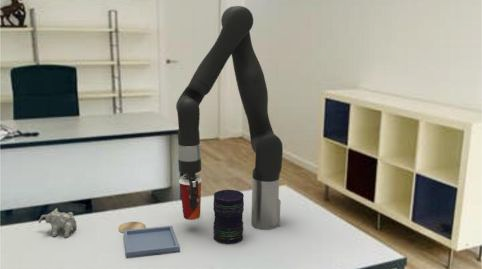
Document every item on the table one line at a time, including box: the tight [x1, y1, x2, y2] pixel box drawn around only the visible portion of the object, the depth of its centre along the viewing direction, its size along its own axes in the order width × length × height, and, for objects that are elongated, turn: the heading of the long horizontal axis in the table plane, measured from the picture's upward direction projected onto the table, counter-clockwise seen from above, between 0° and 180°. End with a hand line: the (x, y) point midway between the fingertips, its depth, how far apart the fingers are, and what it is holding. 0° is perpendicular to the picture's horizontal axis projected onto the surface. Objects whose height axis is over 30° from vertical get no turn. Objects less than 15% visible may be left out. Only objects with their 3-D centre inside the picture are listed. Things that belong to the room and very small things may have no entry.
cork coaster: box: [117, 221, 146, 234], centre depth 163 cm, size 9×9×1 cm
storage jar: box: [212, 189, 245, 245], centre depth 156 cm, size 10×10×15 cm
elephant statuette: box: [38, 207, 78, 239], centre depth 158 cm, size 9×12×8 cm
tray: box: [123, 225, 181, 259], centre depth 152 cm, size 16×16×2 cm
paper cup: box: [178, 173, 203, 221], centre depth 160 cm, size 8×8×14 cm
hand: (191, 204), depth 161 cm, fingers closed on paper cup, 6 cm apart
